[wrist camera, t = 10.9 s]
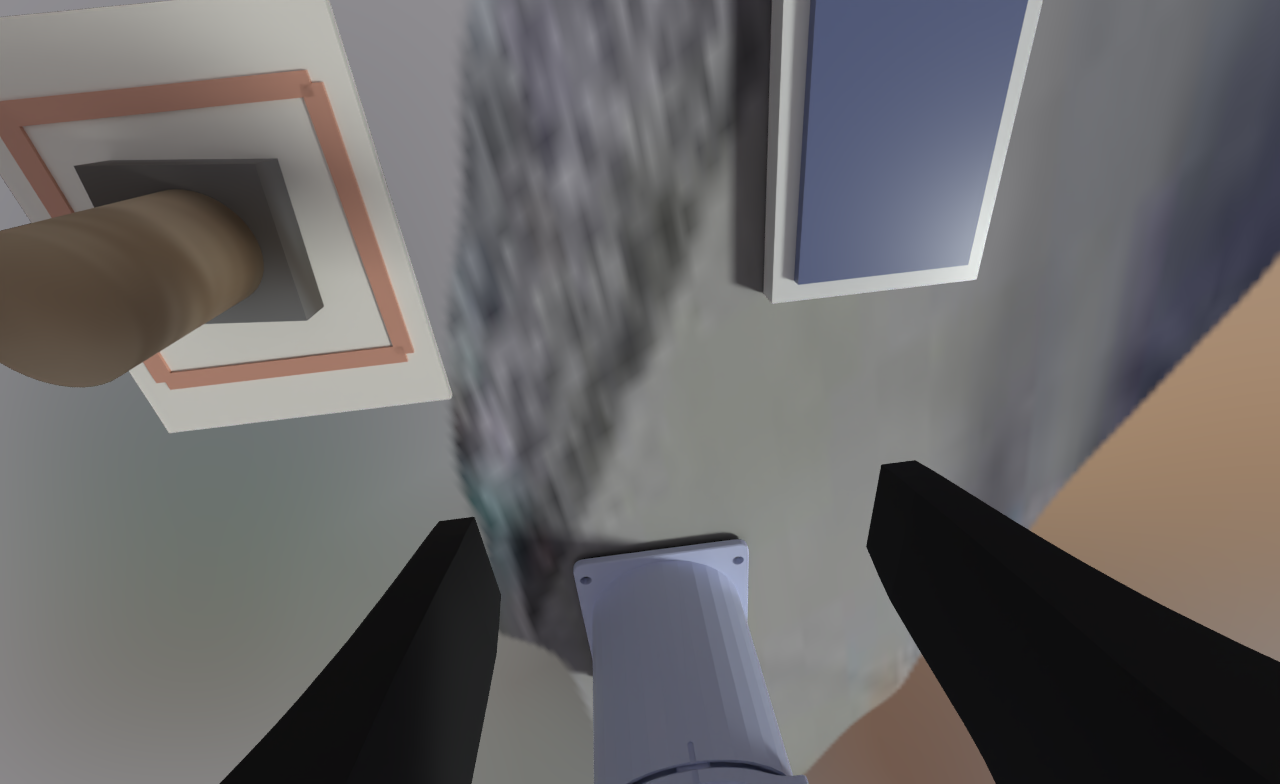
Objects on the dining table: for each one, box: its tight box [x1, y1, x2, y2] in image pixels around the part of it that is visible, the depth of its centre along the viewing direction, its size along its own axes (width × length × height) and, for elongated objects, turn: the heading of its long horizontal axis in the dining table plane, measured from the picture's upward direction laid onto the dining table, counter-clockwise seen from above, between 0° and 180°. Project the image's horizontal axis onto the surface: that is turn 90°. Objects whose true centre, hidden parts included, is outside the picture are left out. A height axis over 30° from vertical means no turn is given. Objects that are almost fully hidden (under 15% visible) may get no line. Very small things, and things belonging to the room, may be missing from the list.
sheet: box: [0, 0, 453, 433], centre depth 16 cm, size 12×10×1 cm
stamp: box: [0, 158, 324, 387], centre depth 13 cm, size 4×4×6 cm
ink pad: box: [763, 0, 1043, 304], centre depth 16 cm, size 9×7×1 cm
